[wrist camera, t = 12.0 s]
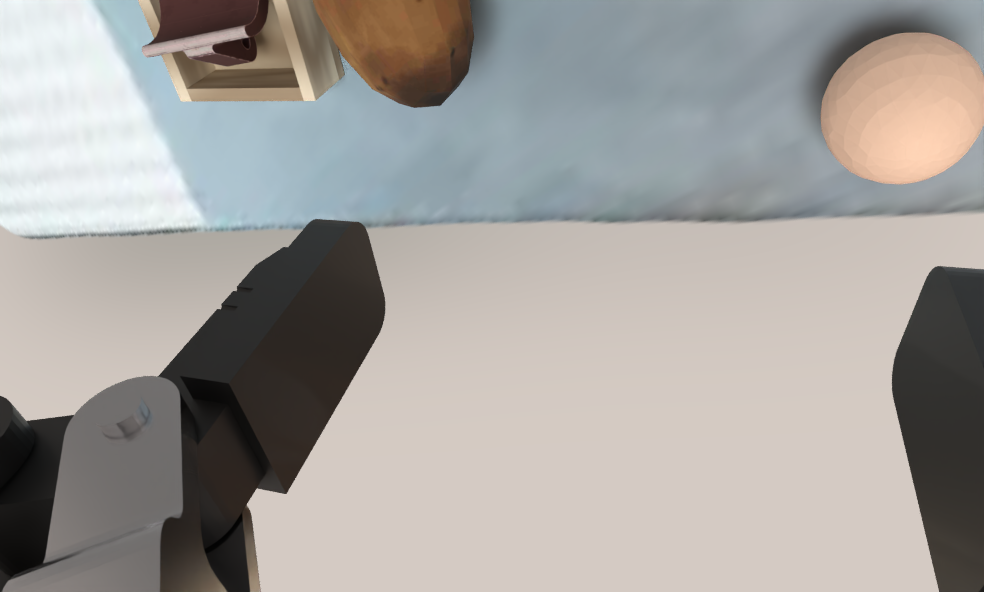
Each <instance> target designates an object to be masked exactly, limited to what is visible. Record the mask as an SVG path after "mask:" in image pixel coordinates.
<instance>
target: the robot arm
mask: <svg viewBox="0 0 984 592" xmlns="http://www.w3.org/2000/svg"><path fill="white" fill-rule="evenodd" d="M384 316H385V297H384V293H383V289H382V286H381V281H380V277H379V274H378V270H377V266H376V262H375V259H374V255H373V251H372V247H371V244H370V240H369V236H368V233H367V231H366V228H365V227H364V226H363V225H362V224H361V223H359V222H350V221H336V220H322V219H315V220H312V221H311V222H310V223H309V224H308V225H307V226H306V227H305V228H304V229H303V231H302V232H301V233H300V234H299V235H298V236H297V238H296V239H295V240H294V241H293V242H292V244H291V245H290V246H289V247H283V248H281V249H280V250H278V251H277V252H275V253H274V254H272V255H271V256H270V257H268V258H266V259H265V260H263V261H262V262H260V263H258V264H257V265H256V266H255V267H254V268H253V269H252V270H251V271H250V272H249V274H248V275H247V276H246V277H245V278H244V279H243V280H242V282H241V283H240V284H239V285H238V286H237V291H233V292H232V293H231V295H229V296H228V298H227V299H226V300H225V301H224V302H223V303H222V308H221V310H220V309H217V310H216V311H215V312H214V313H213V315H212V316H211V317H210V318H209V319H208V320H207V321H206V323H205V324H204V325H203V326H202V327H201V328H200V329H199V331H198V332H197V333H196V334H195V335H194V336H193V337H192V338H191V340H190V341H189V342H188V343H187V344H186V345H185V346H184V348H183V349H182V350H181V351H180V352H179V353H178V354H177V356H176V357H175V358H174V359H173V360H172V361H171V362H170V364H169V365H168V366H167V367H166V368H165V369H164V370H163V372H162V373H161V374H160V375H159V376H158V377H156V376H143V377H137V378H132V379H128V380H125V381H122V382H120V383H117V384H115V385H113V386H111V387H109V388H106V389H105V390H103V391H101V392H100V393H98V394H97V395H95V396H94V397H93V398H91V399H90V400H89V401H88V402H86V403H85V404H84V405H83V406H82V407H81V408H80V409H79V410H78V411H77V412H76V414H75V415H71V416H63V417H55V418H47V419H39V420H31V421H26V420H25V419H24V418H23V417H22V416H21V414H20V413H19V412H18V411H17V410H16V408H15V407H14V406H13V405H12V404H11V403H10V402H9V401H8V400H7V399H6V398H4V397H2V396H0V592H261V589H260V581H259V573H258V565H257V556H256V548H255V540H254V531H253V523H252V516H251V512H250V510H249V508H248V506H247V503H248V501H249V500H250V498H251V497H252V495H253V493H254V492H255V490H256V489H257V488H258V489H263V490H269V491H273V492H278V493H283V494H287V492H288V490H289V488H290V487H291V485H292V483H293V481H294V480H295V478H296V476H297V475H298V473H299V471H300V469H301V467H302V466H303V464H304V462H305V461H306V459H307V457H308V456H309V454H310V452H311V450H312V449H313V447H314V445H315V443H316V442H317V440H318V438H319V437H320V435H321V433H322V431H323V430H324V428H325V426H326V424H327V423H328V421H329V419H330V418H331V416H332V414H333V412H334V411H335V409H336V407H337V405H338V404H339V402H340V400H341V399H342V397H343V395H344V393H345V391H346V390H347V388H348V386H349V385H350V383H351V381H352V379H353V378H354V376H355V374H356V373H357V371H358V369H359V367H360V366H361V364H362V362H363V360H364V359H365V357H366V355H367V353H368V352H369V350H370V348H371V347H372V345H373V343H374V342H375V340H376V338H377V336H378V335H379V333H380V330H381V328H382V325H383V321H384ZM892 392H893V398H894V403H895V407H896V411H897V415H898V420H899V424H900V428H901V432H902V436H903V440H904V445H905V449H906V453H907V457H908V461H909V466H910V470H911V474H912V478H913V483H914V487H915V491H916V496H917V500H918V504H919V508H920V512H921V516H922V521H923V525H924V529H925V534H926V537H927V542H928V546H929V550H930V555H931V559H932V563H933V567H934V572H935V576H936V580H937V584H938V588H939V592H984V270H983V269H969V268H956V267H943V266H937V267H935V268H933V269H932V271H931V272H930V273H929V275H928V276H927V278H926V281H925V283H924V285H923V288H922V290H921V293H920V295H919V298H918V300H917V303H916V305H915V308H914V310H913V313H912V315H911V318H910V320H909V323H908V325H907V327H906V330H905V332H904V335H903V337H902V339H901V342H900V345H899V347H898V349H897V352H896V356H895V359H894V365H893V372H892Z"/></svg>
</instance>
